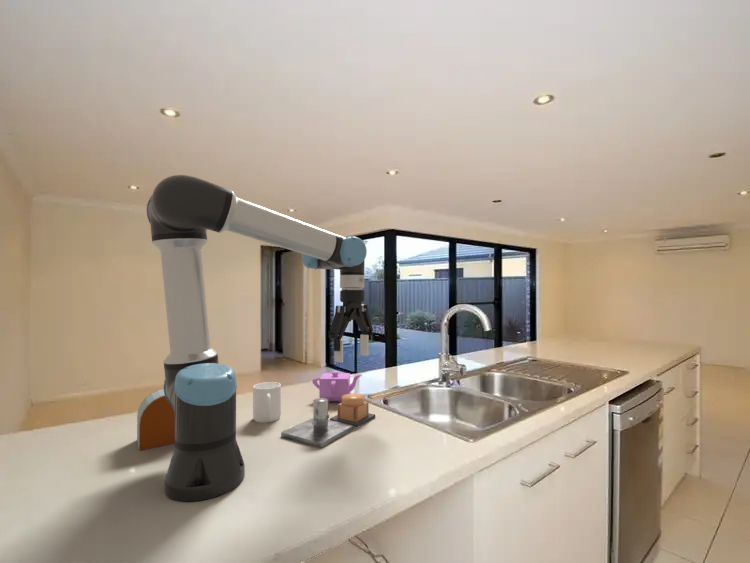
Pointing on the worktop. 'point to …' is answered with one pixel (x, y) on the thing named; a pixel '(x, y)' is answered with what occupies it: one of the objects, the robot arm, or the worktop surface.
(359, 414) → the cap
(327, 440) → the post fixture
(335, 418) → the pad
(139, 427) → the orange rounded block
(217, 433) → the robot arm
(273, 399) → the cup
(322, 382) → the teapot
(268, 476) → the worktop surface
